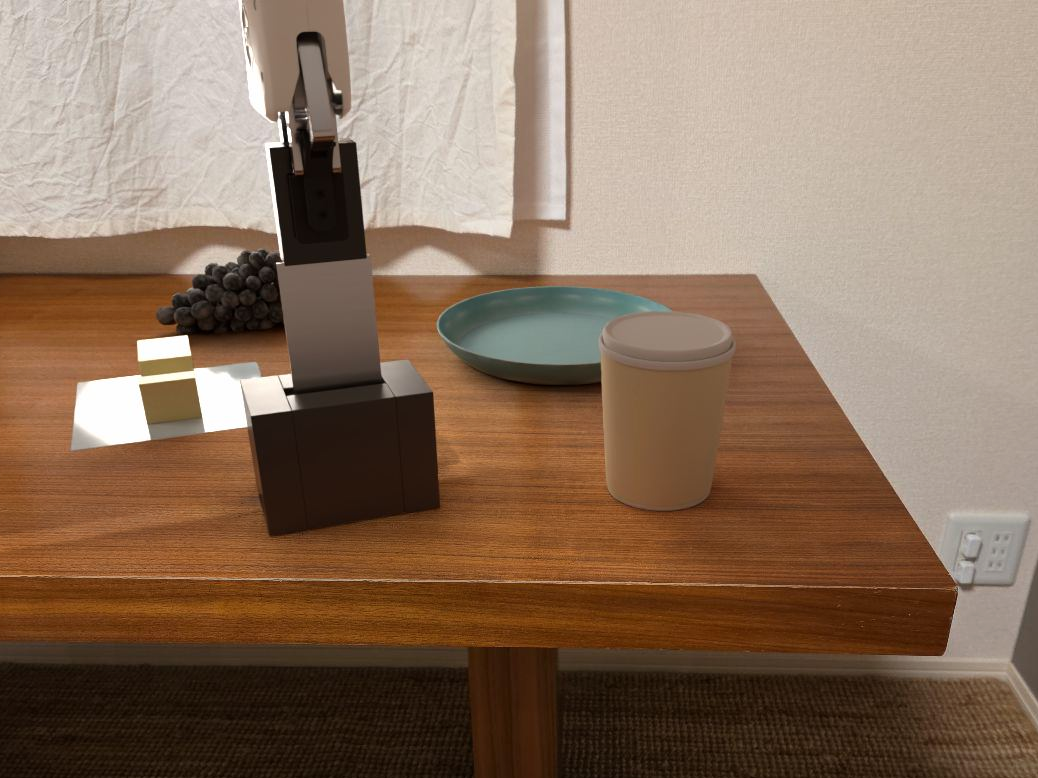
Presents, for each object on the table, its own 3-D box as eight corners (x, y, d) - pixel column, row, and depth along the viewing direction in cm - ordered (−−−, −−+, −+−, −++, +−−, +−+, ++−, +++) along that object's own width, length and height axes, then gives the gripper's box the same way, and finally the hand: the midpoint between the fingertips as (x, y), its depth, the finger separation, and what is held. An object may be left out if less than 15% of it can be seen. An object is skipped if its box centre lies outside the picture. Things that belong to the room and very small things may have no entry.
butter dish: (72, 462, 79) (70, 451, 78) (79, 392, 92) (76, 382, 92) (280, 433, 84) (278, 422, 83) (258, 371, 97) (256, 361, 96)
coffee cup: (667, 450, 80) (677, 302, 74) (748, 495, 73) (766, 335, 67) (570, 479, 76) (572, 323, 70) (647, 529, 69) (656, 362, 63)
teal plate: (400, 382, 94) (398, 348, 92) (482, 308, 114) (481, 279, 113) (657, 407, 88) (659, 371, 87) (695, 325, 108) (698, 294, 107)
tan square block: (147, 424, 83) (138, 384, 81) (146, 416, 84) (138, 377, 83) (202, 417, 84) (195, 377, 82) (201, 409, 86) (193, 370, 84)
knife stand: (269, 536, 68) (250, 416, 64) (257, 493, 74) (239, 379, 70) (440, 507, 72) (433, 391, 68) (416, 468, 78) (408, 358, 73)
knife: (296, 402, 67) (262, 148, 59) (292, 392, 69) (258, 143, 61) (385, 390, 69) (362, 141, 61) (379, 380, 71) (356, 137, 63)
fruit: (143, 258, 98) (297, 240, 103) (143, 267, 106) (287, 249, 110) (163, 348, 100) (314, 326, 105) (163, 350, 107) (303, 329, 112)
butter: (145, 400, 88) (137, 361, 86) (144, 377, 93) (136, 340, 91) (198, 393, 89) (191, 355, 87) (194, 371, 94) (187, 334, 92)
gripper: (199, -101, 60) (245, 216, 69) (221, -121, 47) (275, 273, 56) (324, -99, 62) (354, 208, 71) (379, -118, 49) (406, 260, 58)
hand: (319, 234), depth 64 cm, fingers closed on knife, 2 cm apart
